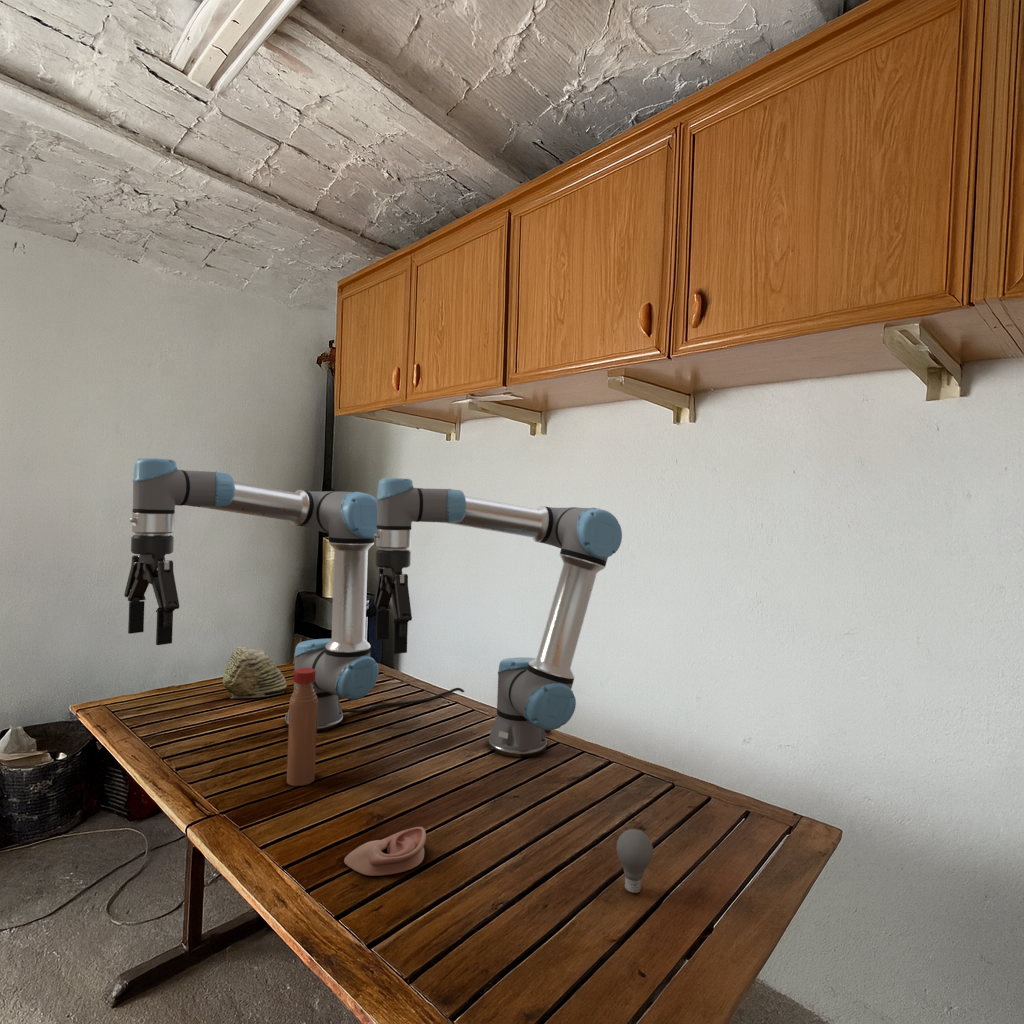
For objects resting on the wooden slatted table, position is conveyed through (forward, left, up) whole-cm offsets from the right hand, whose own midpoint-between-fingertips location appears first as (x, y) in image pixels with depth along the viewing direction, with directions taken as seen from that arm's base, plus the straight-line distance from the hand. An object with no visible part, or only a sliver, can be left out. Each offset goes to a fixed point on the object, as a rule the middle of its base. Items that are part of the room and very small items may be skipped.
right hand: (390, 645), depth 139 cm
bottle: (+16, -11, -31) cm, 37 cm away
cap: (+16, -11, -7) cm, 21 cm away
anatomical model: (+7, +27, -31) cm, 42 cm away
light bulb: (-28, +52, -31) cm, 67 cm away
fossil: (+20, -77, -31) cm, 85 cm away
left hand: (+47, -13, +2) cm, 48 cm away
